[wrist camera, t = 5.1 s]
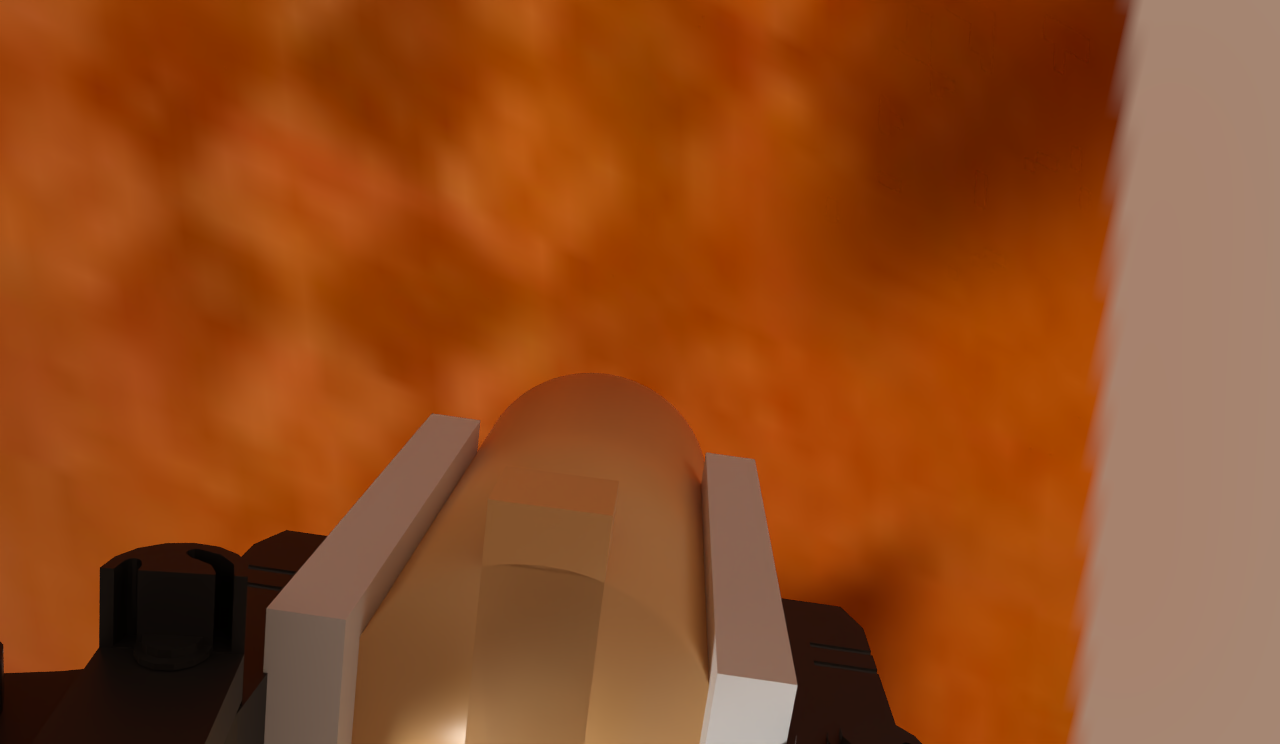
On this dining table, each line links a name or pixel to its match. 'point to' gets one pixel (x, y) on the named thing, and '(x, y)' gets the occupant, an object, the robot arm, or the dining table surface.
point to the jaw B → (552, 585)
